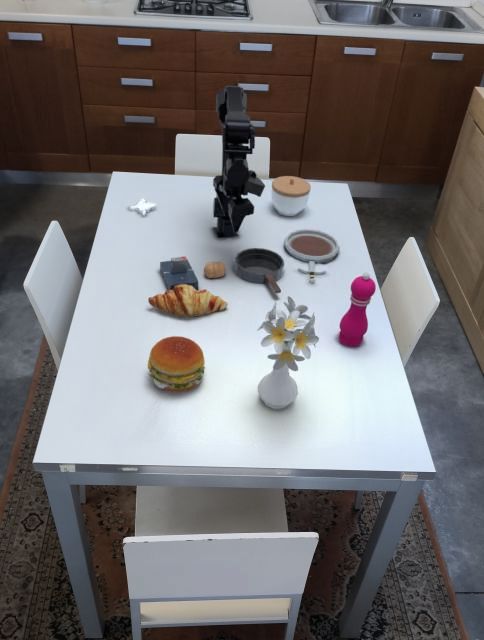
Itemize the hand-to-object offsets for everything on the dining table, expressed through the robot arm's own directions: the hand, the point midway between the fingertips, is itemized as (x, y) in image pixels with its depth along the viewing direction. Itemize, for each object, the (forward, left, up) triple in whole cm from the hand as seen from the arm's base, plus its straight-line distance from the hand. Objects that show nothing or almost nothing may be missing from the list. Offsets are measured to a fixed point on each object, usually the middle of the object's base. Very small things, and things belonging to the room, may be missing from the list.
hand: (231, 223), depth 182 cm
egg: (+7, -6, -12) cm, 15 cm away
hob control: (+7, -17, -12) cm, 22 cm away
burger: (+47, -28, -12) cm, 56 cm away
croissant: (+21, -18, -12) cm, 30 cm away
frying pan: (+4, +25, -12) cm, 28 cm away
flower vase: (+61, -7, -12) cm, 63 cm away
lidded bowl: (-26, +29, -12) cm, 41 cm away
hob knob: (+7, -17, -9) cm, 20 cm away
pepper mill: (+43, +20, -12) cm, 49 cm away
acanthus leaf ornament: (-36, -18, -12) cm, 42 cm away
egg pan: (+7, +7, -12) cm, 16 cm away
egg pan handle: (+18, +7, -9) cm, 22 cm away
